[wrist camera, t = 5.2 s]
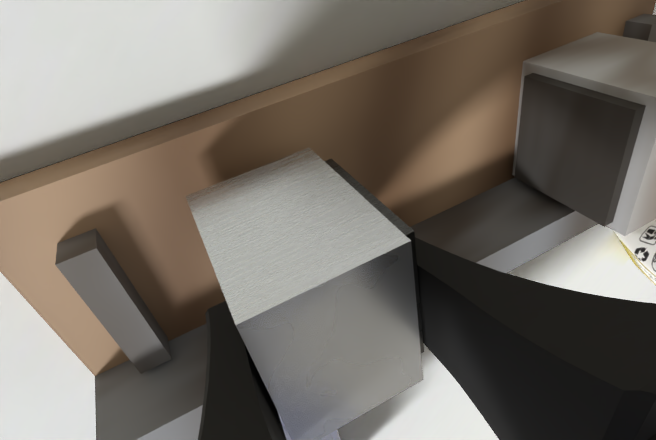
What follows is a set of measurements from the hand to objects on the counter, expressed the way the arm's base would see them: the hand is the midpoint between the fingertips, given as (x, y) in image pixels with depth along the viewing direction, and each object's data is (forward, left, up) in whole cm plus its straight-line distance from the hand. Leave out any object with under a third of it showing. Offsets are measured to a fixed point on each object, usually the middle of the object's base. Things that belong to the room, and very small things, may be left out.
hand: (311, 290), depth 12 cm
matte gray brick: (0, 0, -2) cm, 2 cm away
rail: (0, -5, -4) cm, 7 cm away
